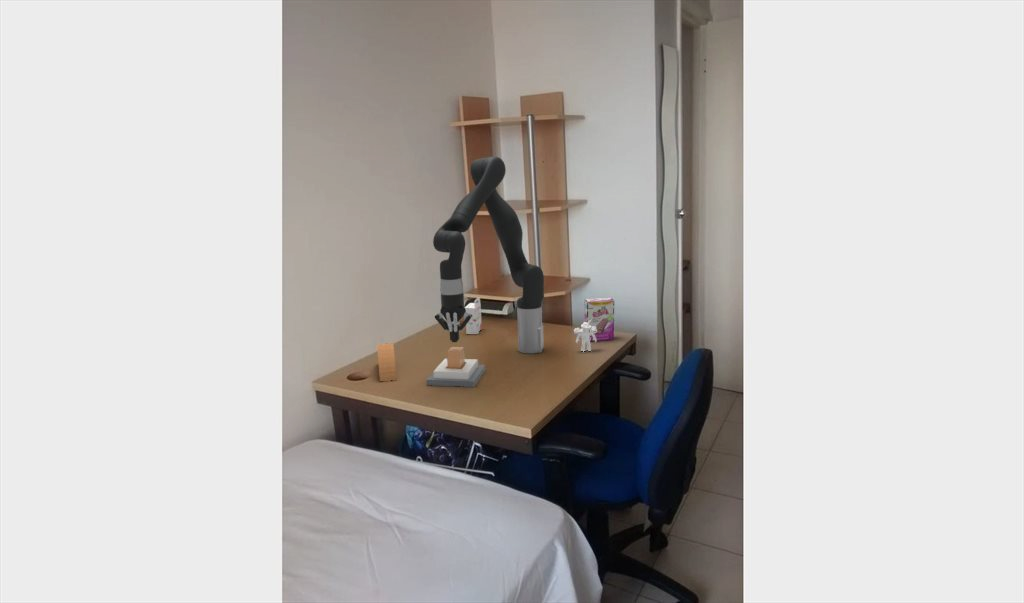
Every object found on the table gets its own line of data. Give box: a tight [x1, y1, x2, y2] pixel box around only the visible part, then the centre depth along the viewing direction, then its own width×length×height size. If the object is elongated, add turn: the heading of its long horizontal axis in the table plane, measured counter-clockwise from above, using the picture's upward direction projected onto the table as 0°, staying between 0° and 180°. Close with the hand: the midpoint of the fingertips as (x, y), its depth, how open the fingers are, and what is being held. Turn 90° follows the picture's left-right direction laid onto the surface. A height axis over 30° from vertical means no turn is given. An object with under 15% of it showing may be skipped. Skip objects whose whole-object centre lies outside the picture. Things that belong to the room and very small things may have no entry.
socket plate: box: [426, 357, 486, 388], centre depth 217 cm, size 16×16×4 cm
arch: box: [376, 342, 398, 382], centre depth 225 cm, size 6×20×10 cm, turn 12°
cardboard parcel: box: [446, 346, 466, 369], centre depth 216 cm, size 4×6×8 cm
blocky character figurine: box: [573, 319, 598, 353], centre depth 239 cm, size 9×4×12 cm, turn 102°
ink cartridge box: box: [464, 296, 483, 335], centre depth 269 cm, size 9×5×15 cm, turn 168°
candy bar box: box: [583, 297, 615, 342], centre depth 252 cm, size 11×5×16 cm, turn 98°
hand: (454, 341), depth 214 cm, fingers closed
